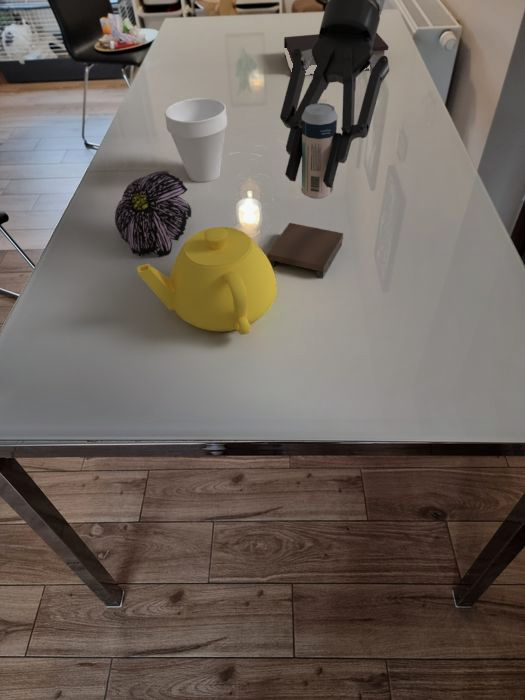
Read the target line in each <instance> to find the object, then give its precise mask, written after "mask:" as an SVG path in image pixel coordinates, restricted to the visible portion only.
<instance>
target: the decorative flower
mask: <svg viewBox="0 0 525 700" xmlns="http://www.w3.org/2000/svg"><path fill="white" fill-rule="evenodd" d="M188 190H189V189H188V188H187V187H186V186H185V184H184V181H183V180H180V178H179V177H176V176H175V175H174V174H171V173H170V172H169V170H168V171H167V170H160V171H155V172H153V173H149V174H148V175H146V176H144V177H139V178H137V179H135V180H133V181H132V182H130V183H129V184H128V186H127V187H126V188H125V190H124V191H123V194H122V196H121V199H120V200H119V202H118V204H117V206H116V209H115V213H114V223H115V227H116V230H117V232H118V233H119V235H120V237H121V239H123V241H125V243H127V244H129V247H130V250H131V252H132V255H138V256H139V257H142V256H143V257H144V256H146V255H150V254H153V255H157V257H158V258H161V257H165V256H168V255H170V254H171V252H172V248H173V243H172V240H173V241H179V239H180V237H181V236H183V235H184V234H185V233H184V232H185V231H186V226H187V222H188V220H189V218H192V207H191V205H190V204H189V203H188V202H187V201H186V200H185V199H183V198H182V197H181V196H182V195H184V194H185V193H186V192H187V191H188Z"/></svg>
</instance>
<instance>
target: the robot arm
mask: <svg viewBox="0 0 525 700" xmlns="http://www.w3.org/2000/svg"><path fill="white" fill-rule="evenodd" d="M385 1H386V0H327V3H326V5H325V9H324V12H323V16H322V20H321V24H320V27H319V31H318V34H319V37H318V39H317V41H316V42H315V44H314V45H313V47H312V49H309V50H306V51H302V52H301V51H300V49H298V48H297V49H294V50H293V52H292V58H293V68H292V72H290V76H289V80H288V84H287V88H286V92H285V96H284V100H283V104H282V107H281V111H280V115H279V118H280V121H281V122H282V123H283V125H284V126H285V128H287V129H289V133H288V137H287V141H286V145H285V151H286V153H287V154H288V155H289V158H288V162H287V164H286V165H287V166H286V169H285V173H284V174H285V176H286V178H287V179H288V180H289V181H290V182H296V181H297V177H298V172H299V170H300V169H299V168H300V166H301V163H302V115H303V113H304V111H305V109H306V107H307V106H309V105H311V104H317V103H319V101H320V99H321V97H322V95H323V93H324V91H326V90H327V88H328V87H329V84H330V83H331V84H332V83H339V84H342V113H341V114H342V115H341V116H342V118H341V122H342V123H341V127H340V129H341V132H342V133H341V132H336V133H335V137H334V140H333V144H332V148H331V152H330V156H329V159H328V163H327V167H326V171H325V174H324V178H323V182H324V183H325V185H326V187H329V188H332V186H333V187H334V183H335V178H336V175H337V171H338V167H339V163H341V164H345V163H346V162H347V160H348V156H349V153H350V149H351V145H352V142H353V141H354V140H356V139H358V138H360V139H365V138H367V137H368V135H369V131H370V127H371V123H372V120H373V116H374V113H375V109H376V104H377V102H378V101H377V100H378V97H379V93H380V90H381V86H382V83H383V82H384V80H385V78H386V77H387V75H388V74H389V73H390V64H389V59H388V56H387V55H384V56H381V57H378V56H376V55H374V54H373V50H372V47H373V43H374V40H375V36H376V33H377V32H378V27H379V25H380V21H381V15H382V12H383V9H384V5H385ZM313 59H314V60H315V63H316V65H317V67H316V69H315V71H314V74H313V75H312V79H311V81H310V83H309V85H308V87H307V89H306V91H305V93H304V95H303V97H302V99H301V95H302V91H303V88H304V83H305V79H306V76H305V73H306V71H305V70H307V69H308V68H309V65H310V62H311V61H312V60H313ZM369 65H370V70H369V77H368V80H367V83H366V88H365V92H364V96H363V99H362V103H361V106H360V107H361V108H360V111H359V115H358V119H357V122H356V124H355V109H356V108H355V107H356V105H355V103H356V91H357V90H356V89H357V88H356V86H357V77H358V76H360V75H361V73H363V72H364V71H363V70H364V69H365V68H367V67H368V66H369ZM300 99H301V101H300Z"/></svg>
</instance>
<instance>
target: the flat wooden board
mask: <svg viewBox="0 0 525 700" xmlns="http://www.w3.org/2000/svg"><path fill="white" fill-rule="evenodd" d="M343 239H344V233H343V232H340V231H339V232H337V231H333V230H328V229H323V228H318V227H313V226H308V225H304V224H298V223H294V222H289V223H288V224H287V226H286V227H285V228H284V230H283V231H282V233H281V234H280V235H279V237H278V238H277V239H276V241H275V242H274V243H273V245H272V246H271V248H270V249H269V251H268V252H267V254H266V256H267V258H268V260H269V262H270V264H271V266H272V268H275V267H276V266H277V265H278V264H279V263H281V264H286V265H290V266H295V267H298V268H303V269H308V270H313V271H315V272H316V275H315V276H316V278H319V279H324V278H325V276H326V274H327V272H328V270H329V268H330V267H331V265H332V264H333V261H334V260H335V258H336V256H337V255H338V252H339V251H340V249H341V247H342V245H343Z"/></svg>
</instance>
